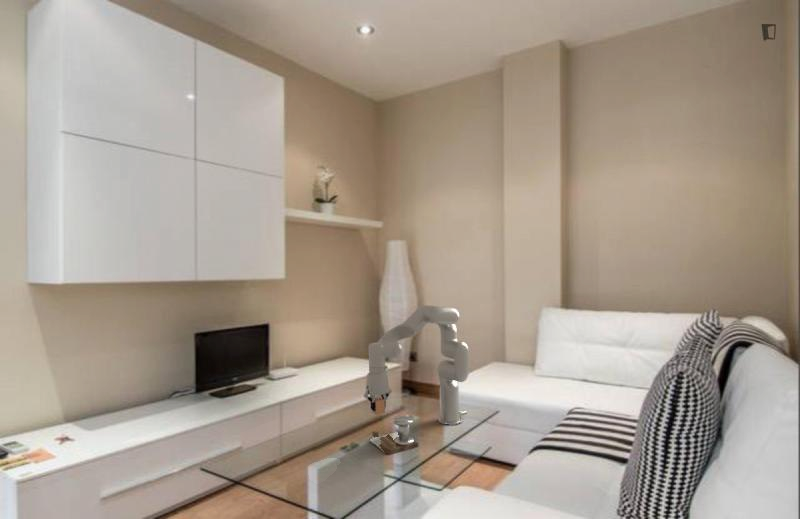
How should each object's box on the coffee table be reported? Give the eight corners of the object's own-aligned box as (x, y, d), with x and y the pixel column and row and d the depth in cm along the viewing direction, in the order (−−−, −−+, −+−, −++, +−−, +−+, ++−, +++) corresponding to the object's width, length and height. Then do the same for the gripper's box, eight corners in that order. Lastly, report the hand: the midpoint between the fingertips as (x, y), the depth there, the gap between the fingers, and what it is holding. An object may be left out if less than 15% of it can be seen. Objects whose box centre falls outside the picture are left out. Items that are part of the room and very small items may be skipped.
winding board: (398, 433, 217) (398, 425, 217) (418, 446, 202) (418, 437, 202) (369, 441, 210) (368, 432, 210) (387, 455, 194) (386, 445, 194)
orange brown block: (380, 410, 210) (380, 397, 210) (384, 413, 206) (384, 399, 206) (372, 412, 207) (371, 399, 207) (376, 414, 204) (376, 401, 204)
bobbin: (407, 436, 210) (406, 415, 210) (417, 442, 202) (417, 420, 202) (390, 440, 206) (390, 418, 206) (400, 447, 198) (399, 424, 198)
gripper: (389, 365, 214) (390, 404, 214) (357, 370, 206) (358, 410, 206) (397, 368, 208) (398, 408, 208) (364, 374, 199) (365, 415, 199)
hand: (378, 409), depth 207 cm, fingers closed on orange brown block, 4 cm apart
